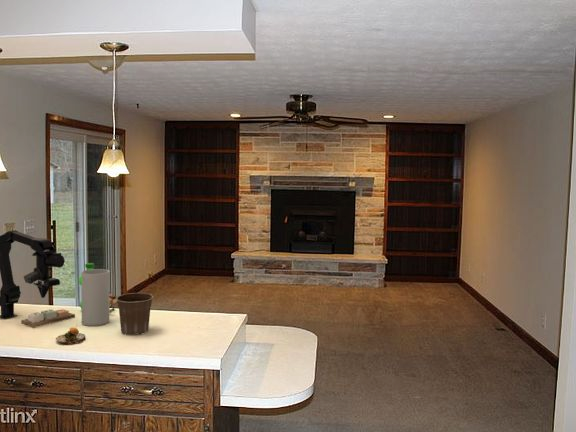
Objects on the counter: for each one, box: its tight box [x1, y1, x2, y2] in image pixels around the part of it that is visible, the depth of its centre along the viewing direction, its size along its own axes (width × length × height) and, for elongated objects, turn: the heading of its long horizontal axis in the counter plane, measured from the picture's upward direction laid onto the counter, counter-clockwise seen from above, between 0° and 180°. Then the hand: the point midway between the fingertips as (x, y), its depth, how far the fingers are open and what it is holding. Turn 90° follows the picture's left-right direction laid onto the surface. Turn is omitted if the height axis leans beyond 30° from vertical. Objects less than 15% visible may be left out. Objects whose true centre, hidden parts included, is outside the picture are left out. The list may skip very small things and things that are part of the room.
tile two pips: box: [40, 308, 57, 320], centre depth 242 cm, size 5×5×3 cm
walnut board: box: [20, 312, 76, 329], centre depth 242 cm, size 10×21×2 cm, turn 146°
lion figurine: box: [109, 297, 115, 311], centre depth 258 cm, size 15×5×9 cm, turn 9°
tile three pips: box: [55, 308, 70, 317], centre depth 247 cm, size 5×5×3 cm
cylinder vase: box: [80, 268, 110, 327], centre depth 240 cm, size 12×12×25 cm
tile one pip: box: [27, 311, 44, 323], centre depth 236 cm, size 5×5×3 cm
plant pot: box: [115, 292, 154, 336], centre depth 229 cm, size 16×16×16 cm
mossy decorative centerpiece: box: [55, 325, 86, 346], centre depth 214 cm, size 12×12×8 cm
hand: (42, 297), depth 239 cm, fingers closed
